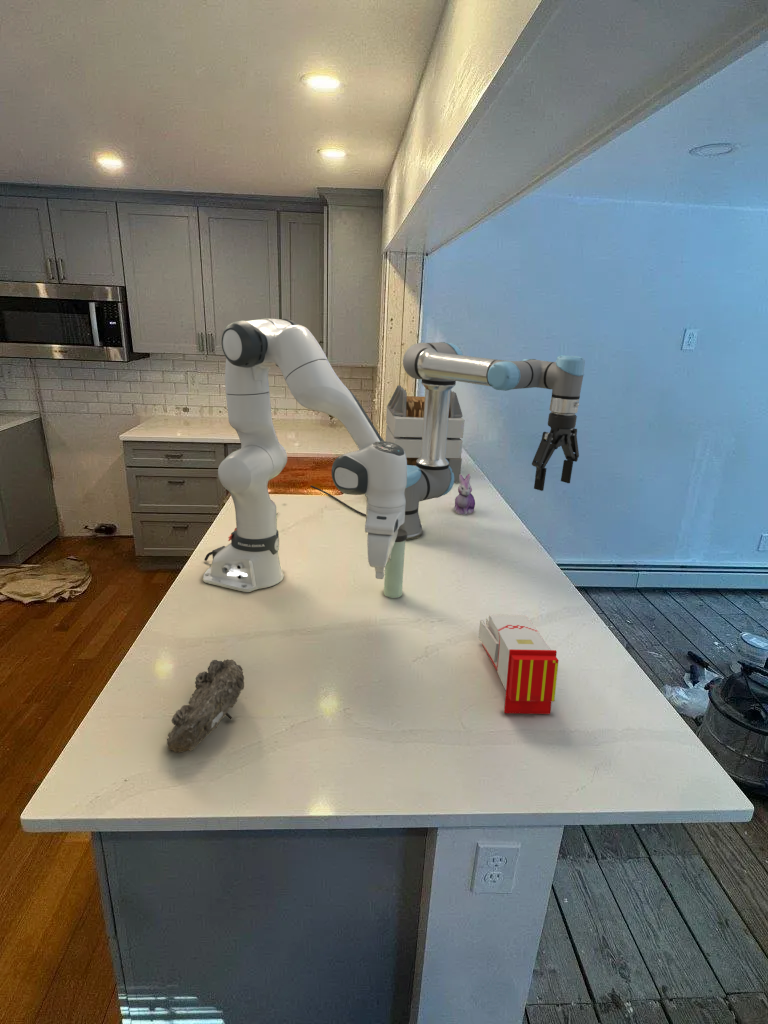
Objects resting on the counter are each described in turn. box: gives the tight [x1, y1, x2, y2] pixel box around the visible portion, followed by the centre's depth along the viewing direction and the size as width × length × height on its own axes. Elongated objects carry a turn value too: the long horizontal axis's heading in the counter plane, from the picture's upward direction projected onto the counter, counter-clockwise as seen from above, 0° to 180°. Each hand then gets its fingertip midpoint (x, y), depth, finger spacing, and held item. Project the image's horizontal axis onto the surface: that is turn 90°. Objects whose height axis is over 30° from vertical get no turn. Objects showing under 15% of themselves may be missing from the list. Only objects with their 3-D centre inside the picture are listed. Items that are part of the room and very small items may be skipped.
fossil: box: [166, 658, 245, 754], centre depth 106 cm, size 22×10×15 cm
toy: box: [477, 613, 560, 715], centre depth 124 cm, size 12×13×30 cm
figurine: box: [453, 473, 476, 515], centre depth 223 cm, size 9×10×15 cm
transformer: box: [384, 384, 465, 484], centre depth 268 cm, size 34×33×41 cm
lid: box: [395, 529, 407, 542], centre depth 152 cm, size 6×6×2 cm
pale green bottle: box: [383, 540, 406, 599], centre depth 155 cm, size 5×5×18 cm
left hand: (383, 569), depth 134 cm, fingers open, 8 cm apart
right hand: (552, 485), depth 166 cm, fingers open, 13 cm apart
